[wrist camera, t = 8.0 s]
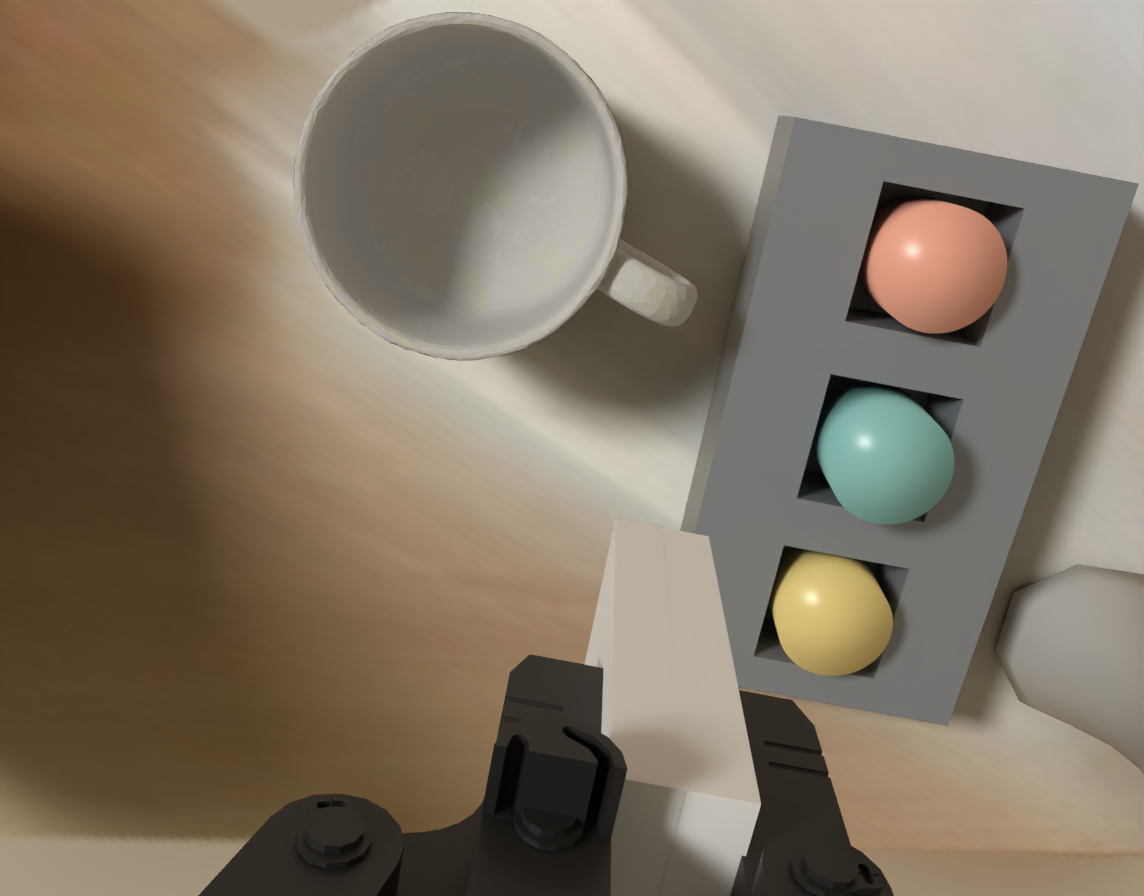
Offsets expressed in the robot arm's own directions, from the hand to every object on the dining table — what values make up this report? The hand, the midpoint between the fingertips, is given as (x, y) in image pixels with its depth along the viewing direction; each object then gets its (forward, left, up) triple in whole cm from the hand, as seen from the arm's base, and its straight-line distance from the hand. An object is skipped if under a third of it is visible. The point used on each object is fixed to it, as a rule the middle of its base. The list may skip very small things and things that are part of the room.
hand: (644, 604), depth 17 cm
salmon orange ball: (+10, +4, -25) cm, 27 cm away
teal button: (+10, -3, -24) cm, 26 cm away
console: (+10, -3, -26) cm, 28 cm away
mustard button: (+10, -10, -25) cm, 29 cm away
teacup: (-5, +3, -27) cm, 27 cm away
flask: (+22, -11, -27) cm, 36 cm away
